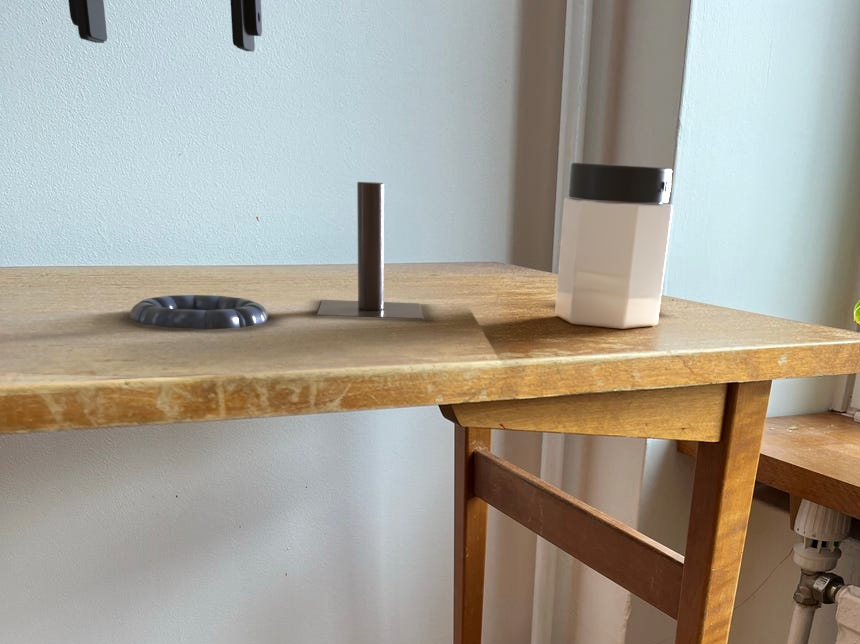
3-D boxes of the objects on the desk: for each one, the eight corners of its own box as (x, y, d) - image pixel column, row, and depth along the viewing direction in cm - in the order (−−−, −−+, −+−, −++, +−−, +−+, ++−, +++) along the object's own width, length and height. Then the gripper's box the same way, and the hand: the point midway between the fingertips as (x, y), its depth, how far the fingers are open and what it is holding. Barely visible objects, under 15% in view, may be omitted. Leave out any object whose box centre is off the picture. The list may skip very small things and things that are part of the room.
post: (317, 328, 73) (313, 181, 69) (322, 312, 80) (319, 178, 76) (423, 332, 74) (427, 187, 70) (419, 315, 81) (422, 183, 77)
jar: (670, 330, 81) (691, 169, 76) (576, 328, 79) (591, 164, 74) (632, 313, 89) (649, 166, 83) (545, 311, 87) (557, 161, 82)
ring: (120, 340, 65) (116, 309, 64) (148, 319, 73) (145, 291, 72) (260, 345, 66) (259, 314, 65) (273, 323, 74) (271, 295, 73)
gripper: (-47, -349, 52) (7, 31, 59) (281, -330, 52) (293, 47, 59) (16, -291, 58) (57, 43, 66) (306, -274, 58) (313, 58, 66)
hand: (169, 45), depth 63 cm, fingers open, 9 cm apart
